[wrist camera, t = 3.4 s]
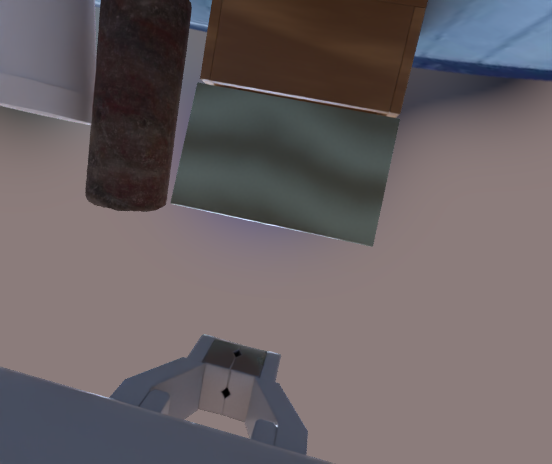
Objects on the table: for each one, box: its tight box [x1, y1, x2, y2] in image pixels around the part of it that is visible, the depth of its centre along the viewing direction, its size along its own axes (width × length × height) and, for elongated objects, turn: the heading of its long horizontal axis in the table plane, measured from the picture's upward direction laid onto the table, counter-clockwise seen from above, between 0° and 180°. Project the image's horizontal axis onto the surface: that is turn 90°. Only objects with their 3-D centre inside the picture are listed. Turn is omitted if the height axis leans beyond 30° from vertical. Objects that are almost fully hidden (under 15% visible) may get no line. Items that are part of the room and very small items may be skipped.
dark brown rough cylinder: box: [86, 0, 192, 212], centre depth 32 cm, size 8×7×20 cm
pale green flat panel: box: [171, 83, 400, 246], centre depth 26 cm, size 10×16×1 cm
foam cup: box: [0, 0, 96, 125], centre depth 32 cm, size 10×9×13 cm
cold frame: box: [200, 0, 428, 118], centre depth 30 cm, size 9×16×8 cm, turn 97°
